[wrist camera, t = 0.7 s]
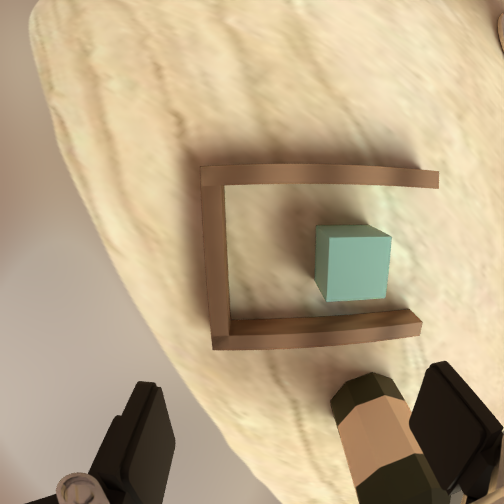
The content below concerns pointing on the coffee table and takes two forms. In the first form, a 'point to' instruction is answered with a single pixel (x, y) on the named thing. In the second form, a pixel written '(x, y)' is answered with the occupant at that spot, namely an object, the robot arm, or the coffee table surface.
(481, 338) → the coffee table surface
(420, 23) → the coffee table surface
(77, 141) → the coffee table surface
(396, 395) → the wine bottle
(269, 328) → the frame
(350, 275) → the teal block
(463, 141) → the coffee table surface
